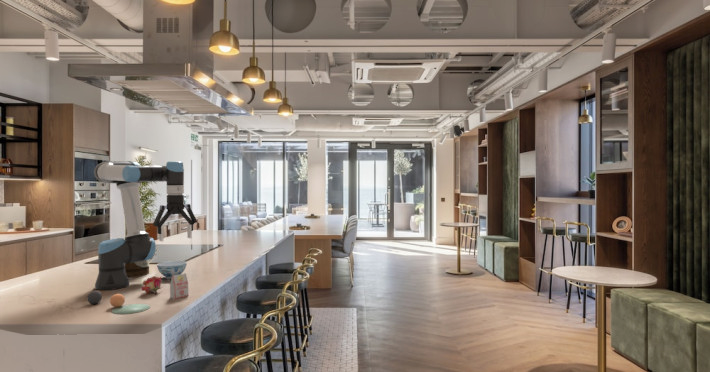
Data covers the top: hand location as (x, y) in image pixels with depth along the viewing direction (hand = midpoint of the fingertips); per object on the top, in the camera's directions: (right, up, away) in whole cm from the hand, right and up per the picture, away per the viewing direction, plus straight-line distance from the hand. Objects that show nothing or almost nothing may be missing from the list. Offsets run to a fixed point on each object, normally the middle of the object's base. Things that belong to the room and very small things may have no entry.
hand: (175, 239), depth 216 cm
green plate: (-8, -25, -27) cm, 38 cm away
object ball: (-15, -23, -24) cm, 36 cm away
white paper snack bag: (+5, -25, -8) cm, 27 cm away
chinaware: (-15, -25, +33) cm, 44 cm away
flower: (-11, -25, -1) cm, 28 cm away
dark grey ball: (-28, -23, -18) cm, 40 cm away
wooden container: (-40, -25, +43) cm, 64 cm away
